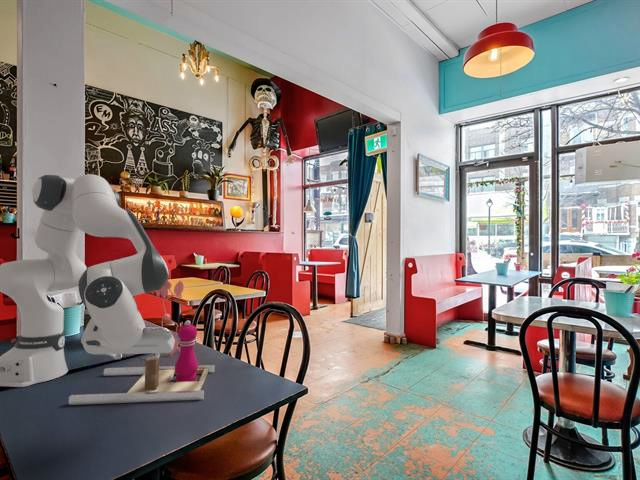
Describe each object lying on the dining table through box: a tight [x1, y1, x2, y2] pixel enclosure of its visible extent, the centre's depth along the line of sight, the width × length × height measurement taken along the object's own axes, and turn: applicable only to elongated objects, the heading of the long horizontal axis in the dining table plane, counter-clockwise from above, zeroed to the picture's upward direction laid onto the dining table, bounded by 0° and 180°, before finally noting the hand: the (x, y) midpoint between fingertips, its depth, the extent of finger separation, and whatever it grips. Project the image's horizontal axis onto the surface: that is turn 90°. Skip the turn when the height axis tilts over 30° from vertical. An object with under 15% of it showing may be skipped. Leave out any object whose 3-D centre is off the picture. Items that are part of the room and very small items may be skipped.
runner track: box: [68, 364, 215, 406], centre depth 109 cm, size 36×22×2 cm, turn 99°
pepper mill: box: [174, 320, 199, 382], centre depth 114 cm, size 7×7×20 cm
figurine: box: [137, 279, 185, 361], centre depth 138 cm, size 15×26×35 cm, turn 54°
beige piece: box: [126, 356, 209, 393], centre depth 109 cm, size 20×19×10 cm
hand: (138, 356), depth 92 cm, fingers open, 8 cm apart
